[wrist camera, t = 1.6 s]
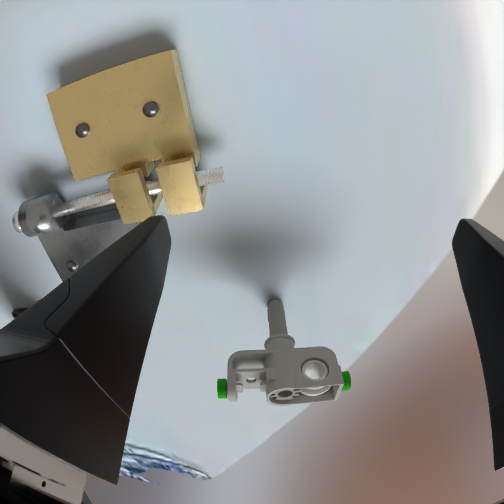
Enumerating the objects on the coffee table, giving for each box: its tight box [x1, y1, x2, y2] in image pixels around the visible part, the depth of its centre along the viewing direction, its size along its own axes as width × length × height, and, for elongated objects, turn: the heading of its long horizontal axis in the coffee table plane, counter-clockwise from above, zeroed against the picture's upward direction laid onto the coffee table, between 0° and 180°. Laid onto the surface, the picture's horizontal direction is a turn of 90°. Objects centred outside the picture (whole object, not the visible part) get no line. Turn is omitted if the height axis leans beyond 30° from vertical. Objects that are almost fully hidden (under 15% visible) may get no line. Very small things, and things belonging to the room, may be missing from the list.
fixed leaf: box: [13, 167, 224, 282], centre depth 24 cm, size 18×10×4 cm, turn 99°
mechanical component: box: [217, 300, 351, 406], centre depth 27 cm, size 3×10×10 cm, turn 91°
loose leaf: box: [46, 49, 207, 224], centre depth 19 cm, size 9×10×4 cm
